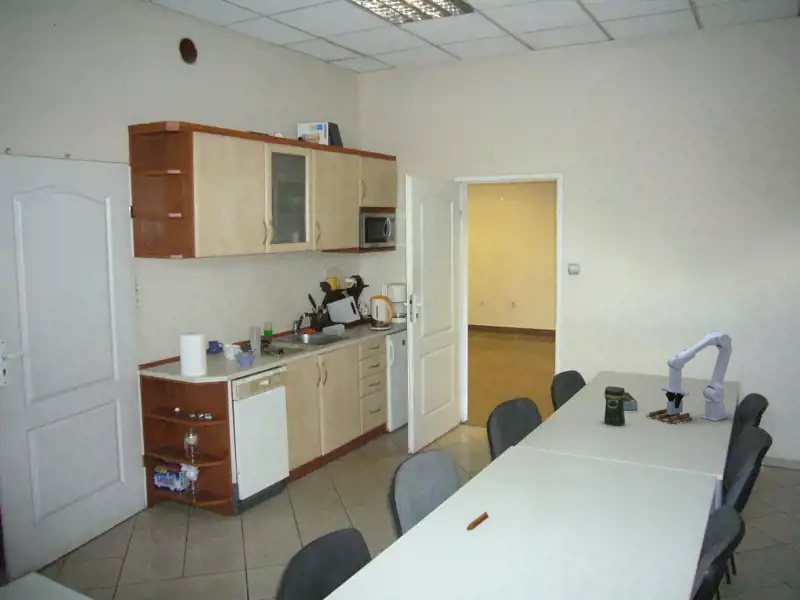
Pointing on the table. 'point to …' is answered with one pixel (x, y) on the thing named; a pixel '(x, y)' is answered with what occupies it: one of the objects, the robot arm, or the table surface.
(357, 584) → the table surface
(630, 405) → the beverage carton
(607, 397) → the coffee jar
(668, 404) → the tile
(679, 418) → the rack
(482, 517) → the pencil
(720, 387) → the robot arm
